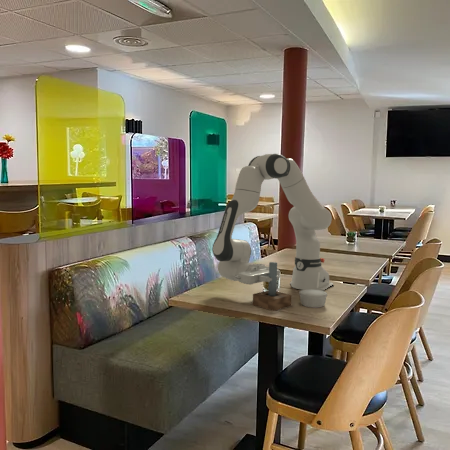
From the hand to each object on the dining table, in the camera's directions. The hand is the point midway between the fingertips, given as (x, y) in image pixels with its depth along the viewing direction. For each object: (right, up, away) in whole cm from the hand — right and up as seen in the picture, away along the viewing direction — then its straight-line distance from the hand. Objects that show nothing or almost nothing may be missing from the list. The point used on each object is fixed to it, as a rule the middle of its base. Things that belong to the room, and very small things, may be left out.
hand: (274, 279), depth 185 cm
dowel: (-1, -9, +2) cm, 10 cm away
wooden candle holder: (-1, -11, +2) cm, 11 cm away
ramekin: (+16, -11, +5) cm, 20 cm away
